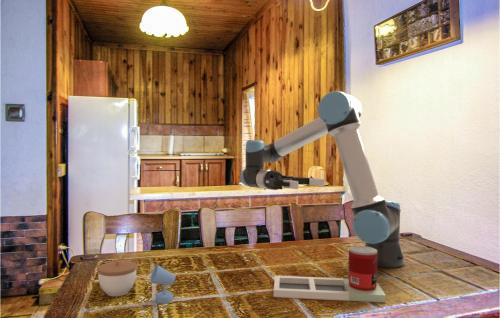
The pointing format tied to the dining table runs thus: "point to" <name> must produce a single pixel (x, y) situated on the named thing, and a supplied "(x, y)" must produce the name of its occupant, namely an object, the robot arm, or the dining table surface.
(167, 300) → the spotlight
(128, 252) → the dining table surface
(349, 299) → the board
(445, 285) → the dining table surface
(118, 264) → the lidded jar
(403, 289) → the dining table surface
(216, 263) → the dining table surface
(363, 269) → the canned food
